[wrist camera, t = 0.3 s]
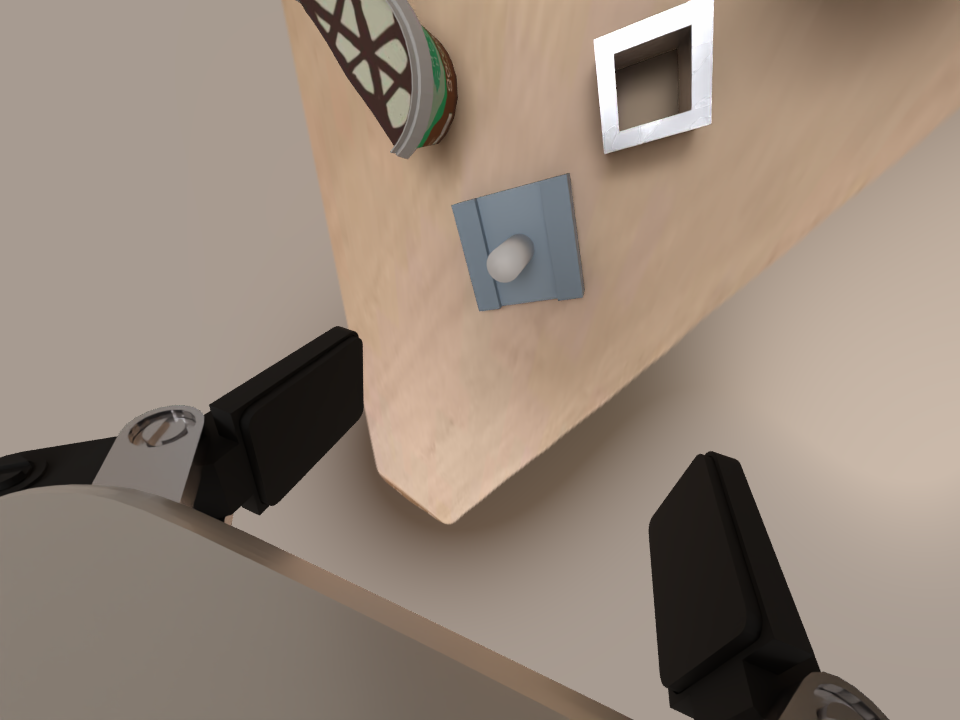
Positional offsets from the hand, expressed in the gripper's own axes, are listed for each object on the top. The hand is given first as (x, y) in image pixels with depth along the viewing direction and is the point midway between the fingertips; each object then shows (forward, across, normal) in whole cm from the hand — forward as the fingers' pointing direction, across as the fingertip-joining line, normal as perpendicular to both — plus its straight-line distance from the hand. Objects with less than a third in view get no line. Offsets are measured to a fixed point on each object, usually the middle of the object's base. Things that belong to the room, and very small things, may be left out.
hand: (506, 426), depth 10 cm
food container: (+30, +17, -10) cm, 36 cm away
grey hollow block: (+30, -1, -11) cm, 32 cm away
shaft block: (+30, +6, +3) cm, 30 cm away
